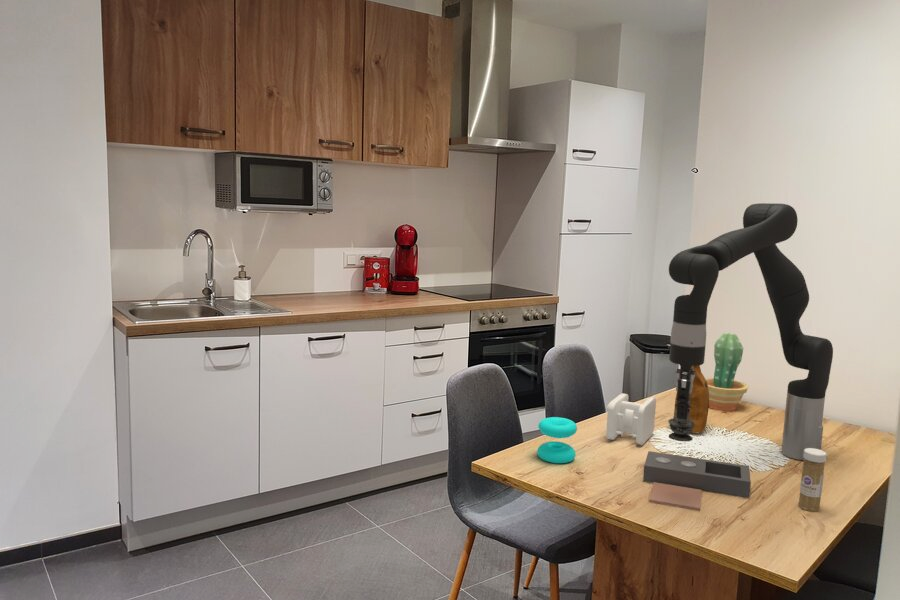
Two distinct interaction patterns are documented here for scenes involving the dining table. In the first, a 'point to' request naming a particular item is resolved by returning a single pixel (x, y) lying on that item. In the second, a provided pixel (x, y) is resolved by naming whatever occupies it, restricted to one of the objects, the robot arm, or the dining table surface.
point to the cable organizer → (631, 418)
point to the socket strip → (698, 474)
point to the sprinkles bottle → (812, 479)
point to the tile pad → (675, 496)
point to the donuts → (554, 449)
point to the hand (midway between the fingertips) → (682, 415)
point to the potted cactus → (726, 374)
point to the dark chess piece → (681, 425)
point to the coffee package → (698, 401)
